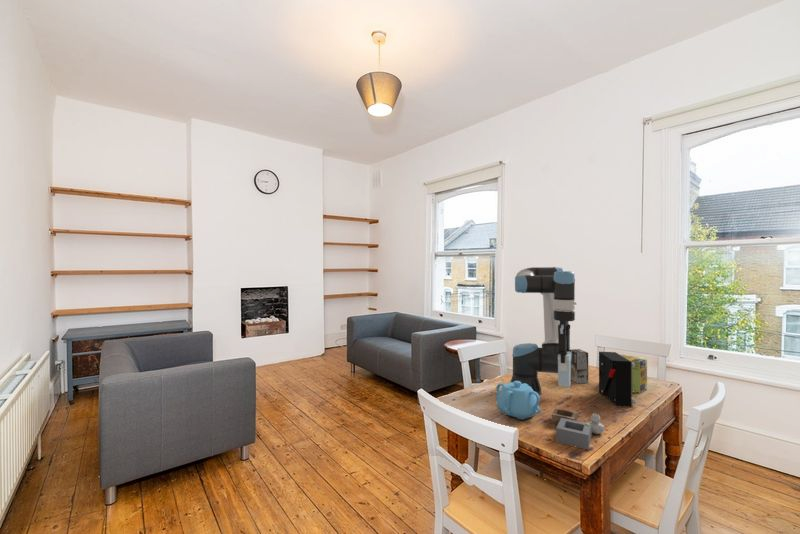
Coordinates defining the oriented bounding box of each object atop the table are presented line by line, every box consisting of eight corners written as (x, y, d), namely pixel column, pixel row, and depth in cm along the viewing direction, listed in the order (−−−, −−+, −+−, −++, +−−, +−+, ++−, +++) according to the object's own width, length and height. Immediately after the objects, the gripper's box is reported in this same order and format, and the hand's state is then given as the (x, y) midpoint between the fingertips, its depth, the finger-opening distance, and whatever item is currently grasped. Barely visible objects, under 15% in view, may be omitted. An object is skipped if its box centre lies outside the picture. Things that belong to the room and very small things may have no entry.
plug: (557, 385, 139) (557, 355, 139) (559, 382, 142) (559, 352, 142) (569, 387, 137) (569, 356, 137) (570, 384, 140) (570, 354, 140)
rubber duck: (585, 433, 131) (585, 411, 131) (590, 427, 136) (590, 406, 136) (601, 437, 127) (601, 415, 127) (606, 431, 132) (606, 410, 132)
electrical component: (636, 407, 155) (636, 361, 155) (611, 405, 157) (611, 360, 157) (620, 393, 172) (620, 352, 172) (597, 392, 174) (597, 351, 175)
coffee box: (589, 383, 188) (588, 352, 188) (576, 383, 188) (576, 352, 188) (580, 377, 197) (580, 348, 197) (568, 377, 197) (568, 348, 197)
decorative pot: (500, 421, 141) (500, 387, 141) (494, 405, 157) (494, 375, 157) (542, 423, 139) (542, 389, 139) (532, 407, 155) (532, 376, 155)
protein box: (640, 393, 172) (640, 361, 172) (606, 385, 184) (606, 355, 184) (647, 389, 178) (647, 358, 178) (614, 381, 190) (614, 352, 190)
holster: (551, 424, 138) (551, 414, 138) (555, 417, 145) (555, 407, 145) (574, 429, 134) (574, 419, 134) (577, 421, 140) (577, 411, 140)
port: (556, 442, 124) (556, 426, 124) (561, 431, 133) (561, 416, 133) (588, 450, 119) (588, 434, 119) (591, 438, 127) (591, 423, 127)
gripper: (571, 313, 130) (571, 376, 130) (577, 308, 145) (577, 365, 145) (549, 311, 134) (549, 373, 134) (557, 307, 149) (557, 363, 149)
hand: (564, 369), depth 140 cm, fingers closed on plug, 4 cm apart
